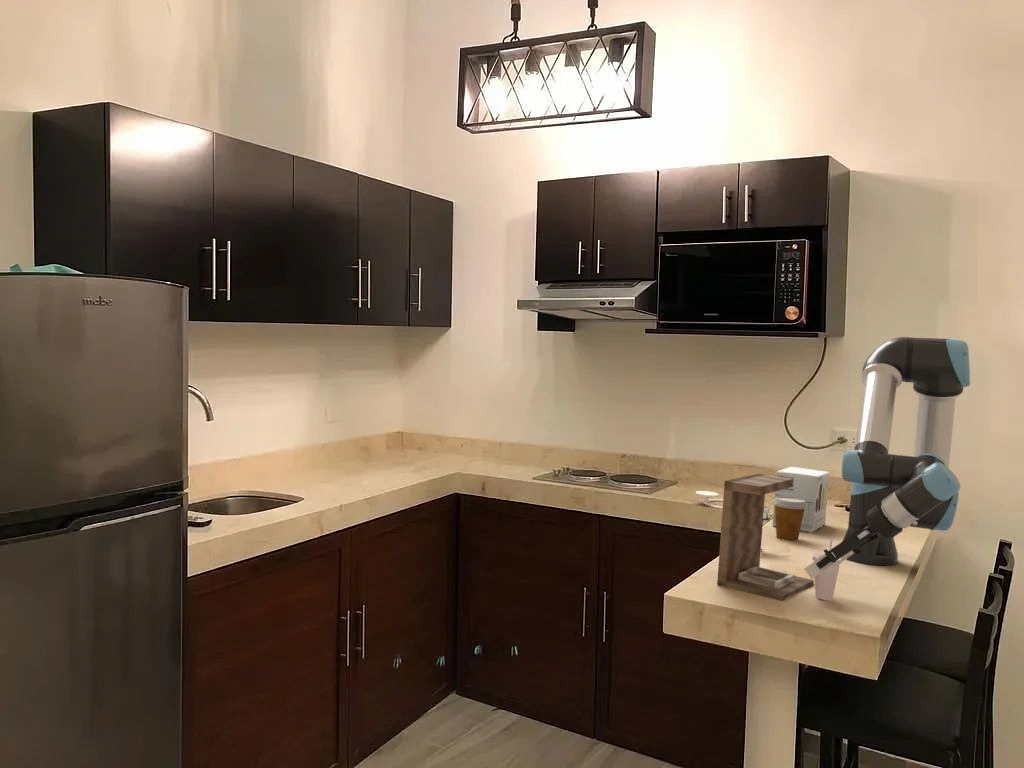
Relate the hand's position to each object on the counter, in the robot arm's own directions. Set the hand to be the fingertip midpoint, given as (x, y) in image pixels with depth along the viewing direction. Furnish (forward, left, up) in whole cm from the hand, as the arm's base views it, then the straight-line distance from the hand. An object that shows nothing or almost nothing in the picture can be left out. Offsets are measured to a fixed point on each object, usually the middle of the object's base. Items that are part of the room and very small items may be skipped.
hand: (818, 568), depth 202 cm
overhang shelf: (0, -12, -7) cm, 14 cm away
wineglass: (-33, -29, -7) cm, 45 cm away
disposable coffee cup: (-56, -29, -7) cm, 63 cm away
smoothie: (0, +2, -7) cm, 7 cm away
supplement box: (-78, -33, -7) cm, 86 cm away
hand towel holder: (-90, -66, -7) cm, 111 cm away
